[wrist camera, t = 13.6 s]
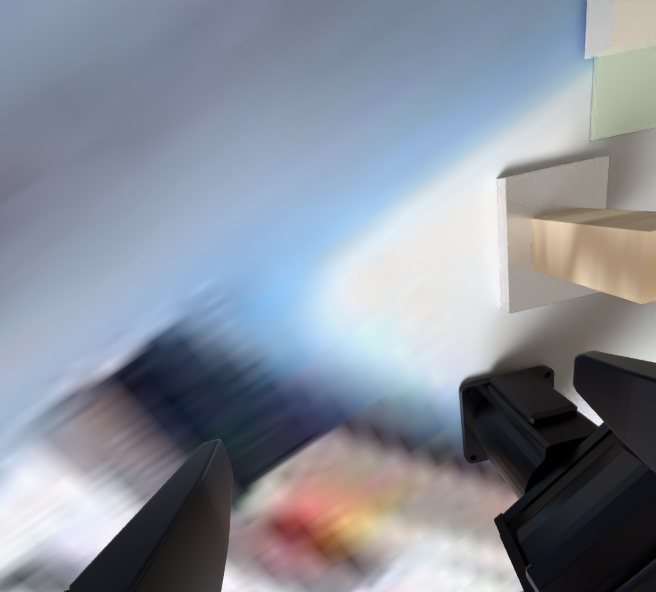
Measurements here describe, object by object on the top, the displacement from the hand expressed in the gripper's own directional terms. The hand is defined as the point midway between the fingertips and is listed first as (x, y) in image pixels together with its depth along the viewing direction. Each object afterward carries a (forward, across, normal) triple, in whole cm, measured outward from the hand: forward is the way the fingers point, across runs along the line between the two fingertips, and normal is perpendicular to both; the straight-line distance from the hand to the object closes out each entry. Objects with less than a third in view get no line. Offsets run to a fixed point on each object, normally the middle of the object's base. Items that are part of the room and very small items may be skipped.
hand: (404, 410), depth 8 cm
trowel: (+12, -13, 0) cm, 18 cm away
